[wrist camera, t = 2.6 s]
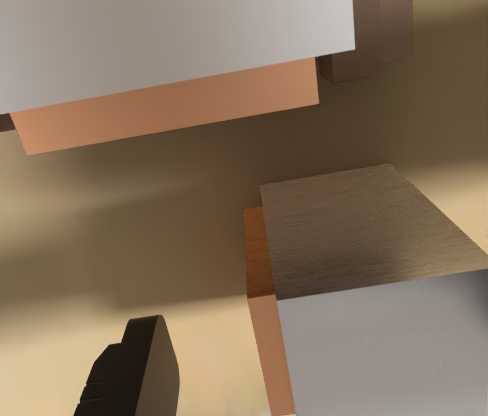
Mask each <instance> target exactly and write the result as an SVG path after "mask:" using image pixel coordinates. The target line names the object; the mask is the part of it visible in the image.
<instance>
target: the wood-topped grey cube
mask: <svg viewBox="0 0 488 416" xmlns="http://www.w3.org/2000/svg"><path fill="white" fill-rule="evenodd" d="M259 187H260V193H261V200H262V206H260V207H254V208H248V209H243V218H244V238H245V259H246V280H247V299H248V304H249V309H250V314H251V319H252V323H253V328H254V333H255V338H256V343H257V347H258V352H259V357H260V362H261V367H262V371H263V376H264V381H265V386H266V391H267V395H268V400H269V405H270V410H271V415H272V416H281V415H289V414H296V416H484V415H485V406H486V397H487V387H488V254H486V253H485V252H484V251H483V250H482V249H481V248H480V247H479V246H478V245H477V244H476V243H475V242H474V241H473V240H472V239H470V238H469V237H468V236H467V235H466V234H465V233H464V232H463V231H462V230H461V229H460V228H459V227H458V226H457V225H456V224H454V223H453V222H452V221H451V220H450V219H449V218H448V217H447V216H446V215H445V214H444V213H443V212H442V211H441V210H440V209H438V208H437V207H436V206H435V205H434V204H433V203H432V202H431V201H430V200H429V199H428V198H427V197H426V196H425V195H424V194H423V193H421V192H420V191H419V190H418V189H417V188H416V187H415V186H414V185H413V184H412V183H411V182H410V181H409V180H408V179H407V178H405V177H404V176H403V175H402V174H401V173H400V172H399V171H398V170H397V169H396V168H395V167H394V166H393V165H392V164H391V163H387V164H382V165H376V166H370V167H364V168H358V169H352V170H346V171H340V172H334V173H328V174H322V175H316V176H311V177H305V178H299V179H293V180H287V181H281V182H275V183H269V184H263V185H259Z"/></svg>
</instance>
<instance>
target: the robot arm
mask: <svg viewBox="0 0 488 416" xmlns="http://www.w3.org/2000/svg"><path fill="white" fill-rule="evenodd" d="M86 384H87V385H86V387H84V390H83V392H82V395H81V397H80V404H78V405H77V408H76V410H75V413H74V415H73V416H176V411H177V403H178V395H179V385H180V380H179V368H178V363H177V359H176V356H175V353H174V349H173V346H172V343H171V339H170V336H169V333H168V329H167V326H166V323H165V320H164V318H163V316H162V315H155V316H148V317H142V318H135V319H130V320H129V321H128V323H127V326H126V329H125V332H124V335H123V338H122V341H121V343H117V344H110V345H108V347H107V348H106V349H105V350H104V351H103V353H102V354H101V355H100V356H99V357H98V359H97V360H96V361H95V362H94V364H93V366H92V369H91V372H90V374H89V377H88V379H87V382H86Z"/></svg>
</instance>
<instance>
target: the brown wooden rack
mask: <svg viewBox="0 0 488 416" xmlns="http://www.w3.org/2000/svg"><path fill="white" fill-rule="evenodd" d="M406 58H412V0H0V132H4V131H9V130H15V129H16V130H17V132H18V135H19V137H20V140H21V142H22V145H23V147H24V149H25V152H26V154H27V156H28V155H34V154H39V153H45V152H51V151H56V150H62V149H68V148H73V147H79V146H84V145H90V144H96V143H101V142H107V141H113V140H118V139H124V138H129V137H135V136H141V135H146V134H152V133H158V132H163V131H169V130H174V129H180V128H186V127H191V126H197V125H203V124H208V123H214V122H219V121H225V120H231V119H236V118H242V117H248V116H253V115H259V114H264V113H270V112H276V111H281V110H287V109H293V108H298V107H304V106H309V105H315V104H319V97H318V86H317V76H316V75H318V74H321V75H322V76H324V77H325V78H327V79H328V80H330V81H331V82H333V83H338V82H344V81H349V80H355V79H360V78H366V77H371V76H377V75H382V63H384V62H390V61H395V60H401V59H406Z"/></svg>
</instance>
